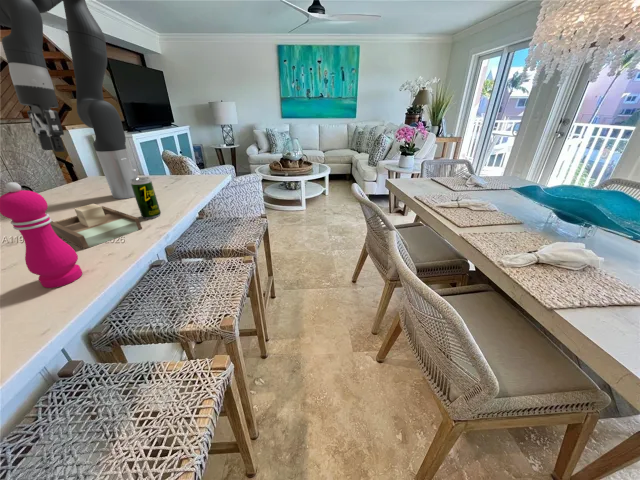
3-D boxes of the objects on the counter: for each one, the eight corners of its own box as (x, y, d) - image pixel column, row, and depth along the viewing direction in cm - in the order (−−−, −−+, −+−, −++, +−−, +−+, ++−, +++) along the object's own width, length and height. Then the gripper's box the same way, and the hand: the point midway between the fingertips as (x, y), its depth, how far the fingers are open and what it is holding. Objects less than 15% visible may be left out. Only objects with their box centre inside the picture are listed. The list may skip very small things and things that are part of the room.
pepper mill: (58, 270, 57) (8, 177, 48) (94, 268, 57) (50, 176, 48) (28, 291, 50) (-37, 188, 41) (68, 288, 51) (13, 187, 42)
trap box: (106, 215, 85) (102, 206, 83) (142, 228, 76) (138, 218, 74) (50, 232, 74) (45, 221, 72) (84, 249, 65) (78, 237, 63)
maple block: (99, 218, 76) (93, 203, 74) (107, 221, 74) (101, 206, 72) (81, 223, 73) (74, 208, 71) (88, 227, 71) (81, 211, 69)
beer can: (138, 218, 83) (125, 180, 77) (152, 212, 87) (141, 176, 82) (151, 220, 81) (139, 181, 76) (165, 214, 86) (154, 177, 80)
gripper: (63, 87, 69) (80, 152, 75) (43, 90, 76) (60, 149, 82) (22, 81, 63) (44, 152, 69) (5, 85, 70) (26, 149, 76)
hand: (53, 150), depth 75 cm, fingers open, 8 cm apart
